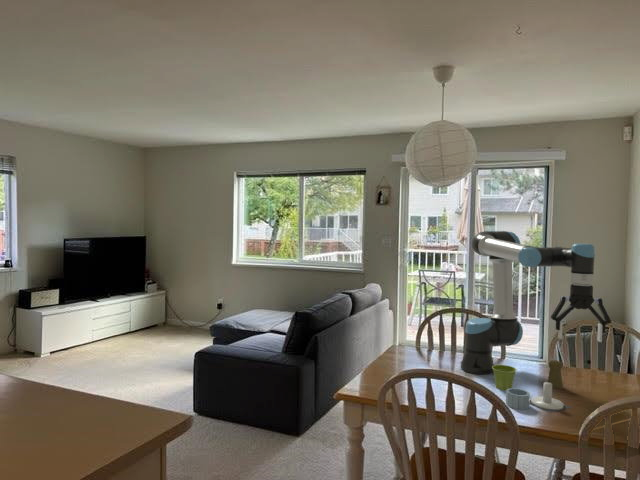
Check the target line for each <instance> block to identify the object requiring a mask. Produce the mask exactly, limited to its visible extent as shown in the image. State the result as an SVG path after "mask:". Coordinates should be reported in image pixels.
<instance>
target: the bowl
mask: <svg viewBox="0 0 640 480" xmlns="http://www.w3.org/2000/svg"><path fill="white" fill-rule="evenodd" d="M530 400H531V393H530V392H529V391H528V390H525V389H522V388H517V387H512V388H510V389H507V390H505V404H507V405H506V406H507V407H509V408H510V409H515V410H522V411H526V410H528V409H530V406H531V405H530Z"/></svg>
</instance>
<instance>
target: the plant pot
mask: <svg viewBox="0 0 640 480" xmlns="http://www.w3.org/2000/svg"><path fill="white" fill-rule="evenodd" d="M492 369H493V372H494V373H493V374H494V383H495V388H496V389H498V390H500V391H506V390H507V389H510V388H513V384H514V377H515V374H516V372H517V368H516V367H513V366H511V365H506V364H494V366H492Z"/></svg>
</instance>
